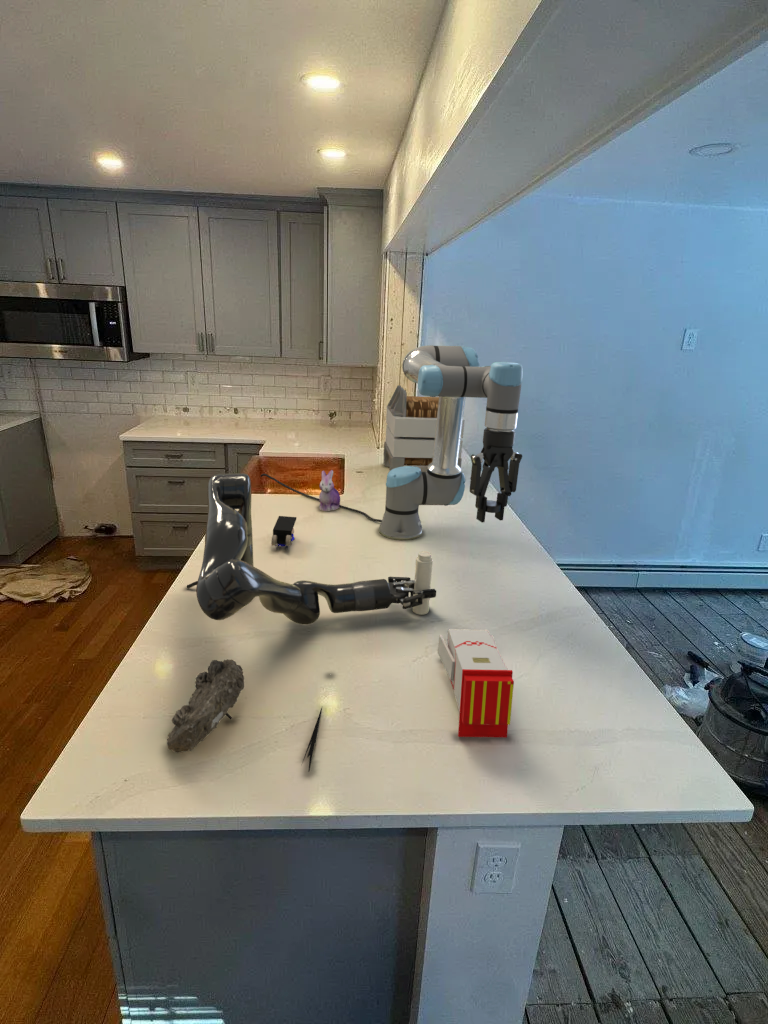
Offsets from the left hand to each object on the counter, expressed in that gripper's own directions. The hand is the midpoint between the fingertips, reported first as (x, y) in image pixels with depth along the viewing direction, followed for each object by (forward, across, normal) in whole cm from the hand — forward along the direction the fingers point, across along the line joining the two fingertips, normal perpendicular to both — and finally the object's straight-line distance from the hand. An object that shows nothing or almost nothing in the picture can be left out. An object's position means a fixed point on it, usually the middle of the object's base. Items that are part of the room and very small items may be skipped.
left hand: (431, 588), depth 148 cm
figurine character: (-32, -51, -6) cm, 60 cm away
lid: (+14, +2, +23) cm, 27 cm away
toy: (-5, +34, -6) cm, 35 cm away
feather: (-36, +35, -6) cm, 51 cm away
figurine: (-10, -83, -6) cm, 84 cm away
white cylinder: (-3, 0, -6) cm, 7 cm away
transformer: (+43, -125, -6) cm, 132 cm away
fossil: (-56, +29, -6) cm, 64 cm away
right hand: (+14, +2, +19) cm, 24 cm away
